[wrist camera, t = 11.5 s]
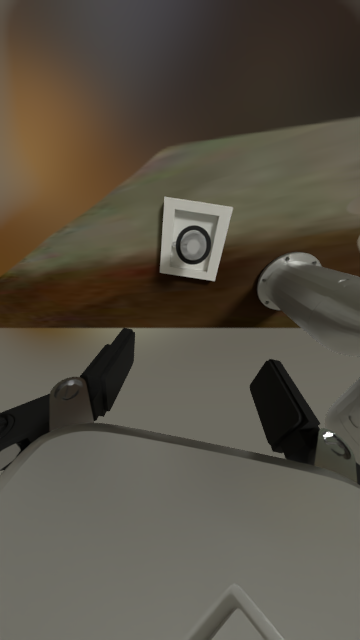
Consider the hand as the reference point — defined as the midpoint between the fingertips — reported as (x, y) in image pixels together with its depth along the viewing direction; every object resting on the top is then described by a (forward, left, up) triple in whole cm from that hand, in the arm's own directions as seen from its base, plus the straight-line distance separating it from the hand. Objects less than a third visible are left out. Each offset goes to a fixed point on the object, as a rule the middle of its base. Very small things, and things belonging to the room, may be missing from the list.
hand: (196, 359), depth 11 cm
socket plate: (+1, -6, -27) cm, 28 cm away
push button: (+2, -6, -27) cm, 27 cm away
